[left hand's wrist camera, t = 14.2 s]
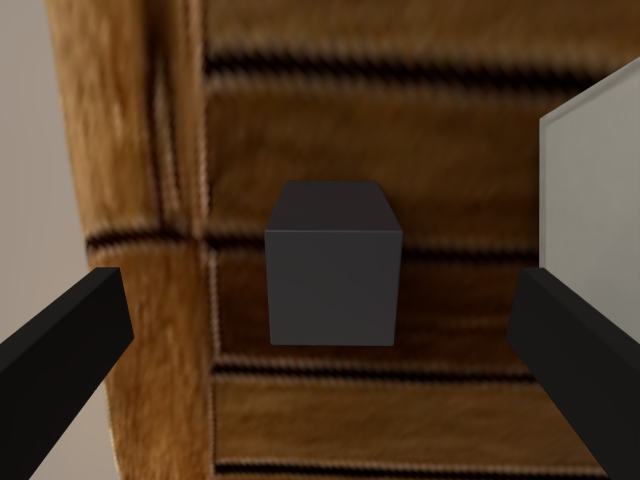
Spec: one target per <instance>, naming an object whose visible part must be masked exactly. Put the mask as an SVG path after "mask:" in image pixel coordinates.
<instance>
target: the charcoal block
mask: <svg viewBox="0 0 640 480" xmlns="http://www.w3.org/2000/svg"><path fill="white" fill-rule="evenodd" d="M264 235H265V252H266V270H267V287H268V304H269V321H270V338H271V344H272V345H353V346H393V344H394V335H395V324H396V312H397V300H398V289H399V277H400V265H401V254H402V242H403V230H402V228H401V226H400V225H399V223H398V221H397V219H396V217H395V215H394V213H393V211H392V209H391V207H390V205H389V203H388V201H387V199H386V197H385V196H384V194H383V192H382V190H381V188H380V186H379V184H378V182H377V181H286V182H285V185H284V187H283V189H282V192H281V194H280V196H279V198H278V201H277V203H276V205H275V208H274V210H273V212H272V215H271V217H270V219H269V222H268V224H267V226H266V229H265V231H264Z"/></svg>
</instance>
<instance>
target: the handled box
mask: <svg viewBox="0 0 640 480" xmlns="http://www.w3.org/2000/svg"><path fill="white" fill-rule="evenodd" d="M539 267H544V268H545V269H546V270H548V271H549V272H550V273H551V274H553V275H554V276H555V277H556V278H558V279H559V280H560V281H562V282H563V283H564V284H565V285H567V286H568V287H569V288H570V289H572V290H573V291H574V292H575V293H577V294H578V295H579V296H580V297H582V298H583V299H584V300H585V301H587V302H588V303H589V304H590V305H592V306H593V307H594V308H595V309H597V310H598V311H599V312H600V313H602V314H603V315H604V316H605V317H607V318H608V319H609V320H610V321H612V322H613V323H614V324H615V325H617V326H618V327H619V328H620V329H622V330H623V331H624V332H625V333H627V334H628V335H629V336H630V337H632V338H633V339H634V340H635V341H637V342H638V343H639V344H640V57H639V58H637V59H635V60H634V61H632V62H631V63H629V64H627V65H626V66H624V67H623V68H621V69H619V70H618V71H616V72H614V73H613V74H611V75H610V76H608V77H606V78H605V79H603V80H602V81H600V82H598V83H597V84H595V85H593V86H592V87H590V88H589V89H587V90H585V91H584V92H582V93H580V94H579V95H577V96H576V97H574V98H572V99H571V100H569V101H568V102H566V103H564V104H563V105H561V106H559V107H558V108H556V109H555V110H553V111H551V112H550V113H548V114H547V115H545V116H543V117H542V118H540V191H539Z"/></svg>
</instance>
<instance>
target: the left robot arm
mask: <svg viewBox="0 0 640 480" xmlns="http://www.w3.org/2000/svg"><path fill="white" fill-rule="evenodd" d="M133 339H134V334H133V329H132V324H131V320H130V315H129V310H128V305H127V301H126V296H125V291H124V286H123V282H122V277H121V272H120V267H96V268H95V269H94V270H92V271H91V272H90V273H89V274H87V275H86V276H85V277H83V278H82V279H81V280H80V281H78V282H77V283H76V284H75V285H73V286H72V287H71V288H70V289H68V290H67V291H66V292H65V293H63V294H62V295H61V296H60V297H58V298H57V299H56V300H55V301H53V302H52V303H51V304H50V305H48V306H47V307H46V308H45V309H43V310H42V311H41V312H40V313H38V314H37V315H36V316H35V317H33V318H32V319H31V320H30V321H28V322H27V323H26V324H25V325H23V326H22V327H21V328H20V329H18V330H17V331H16V332H15V333H13V334H12V335H11V336H10V337H8V338H7V339H6V340H5V341H3V342H2V343H1V344H0V480H29V479H30V477H31V476H32V475H33V473H34V472H35V471H36V469H37V468H38V467H39V465H40V464H41V463H42V461H43V460H44V459H45V457H46V456H47V455H48V453H49V452H50V451H51V449H52V448H53V447H54V445H55V444H56V442H57V441H58V440H59V438H60V437H61V436H62V434H63V433H64V432H65V430H66V429H67V428H68V426H69V425H70V424H71V422H72V421H73V420H74V418H75V417H76V416H77V414H78V413H79V412H80V410H81V409H82V408H83V406H84V405H85V404H86V402H87V401H88V400H89V398H90V397H91V396H92V394H93V393H94V391H95V390H96V389H97V387H98V386H99V385H100V383H101V382H102V381H103V379H104V378H105V377H106V375H107V374H108V373H109V371H110V370H111V369H112V367H113V366H114V365H115V363H116V362H117V361H118V359H119V358H120V357H121V355H122V354H123V353H124V351H125V350H126V349H127V347H128V346H129V345H130V343H131V342H132V340H133ZM506 339H507V341H508V342H509V343H510V345H511V346H512V347H513V349H514V350H515V351H516V353H517V354H518V355H519V357H520V358H521V359H522V361H523V362H524V363H525V365H526V366H527V367H528V369H529V370H530V371H531V373H532V374H533V375H534V377H535V378H536V379H537V381H538V382H539V383H540V385H541V386H542V387H543V389H544V390H545V392H546V393H547V394H548V396H549V397H550V398H551V400H552V401H553V402H554V404H555V405H556V406H557V408H558V409H559V410H560V412H561V413H562V414H563V416H564V417H565V418H566V420H567V421H568V422H569V424H570V425H571V426H572V428H573V429H574V430H575V432H576V433H577V434H578V436H579V437H580V438H581V440H582V441H583V443H584V444H585V445H586V447H587V448H588V449H589V451H590V452H591V453H592V455H593V456H594V457H595V459H596V460H597V461H598V463H599V464H600V465H601V467H602V468H603V469H604V471H605V472H606V473H607V475H608V476H609V477H610V479H611V480H640V344H639V343H638V342H637V341H635V340H634V339H633V338H632V337H630V336H629V335H628V334H627V333H625V332H624V331H623V330H622V329H620V328H619V327H618V326H617V325H615V324H614V323H613V322H612V321H610V320H609V319H608V318H607V317H605V316H604V315H603V314H602V313H600V312H599V311H598V310H597V309H595V308H594V307H593V306H592V305H590V304H589V303H588V302H587V301H585V300H584V299H583V298H582V297H580V296H579V295H578V294H577V293H575V292H574V291H573V290H572V289H570V288H569V287H568V286H567V285H565V284H564V283H563V282H562V281H560V280H559V279H558V278H556V277H555V276H554V275H553V274H551V273H550V272H549V271H548V270H546V269H545V268H544V267H520V272H519V277H518V282H517V286H516V291H515V296H514V301H513V305H512V310H511V315H510V320H509V324H508V329H507V334H506Z"/></svg>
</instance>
